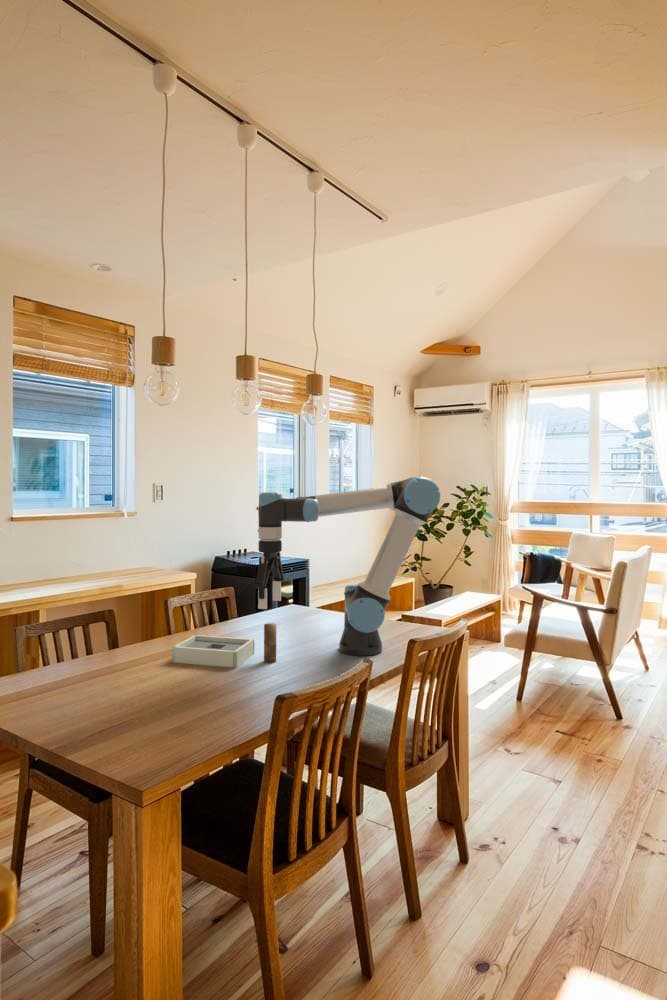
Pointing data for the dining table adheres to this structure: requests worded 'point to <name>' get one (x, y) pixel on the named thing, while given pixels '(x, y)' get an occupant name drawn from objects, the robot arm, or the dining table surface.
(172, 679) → the dining table surface
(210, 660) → the box
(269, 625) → the peg
